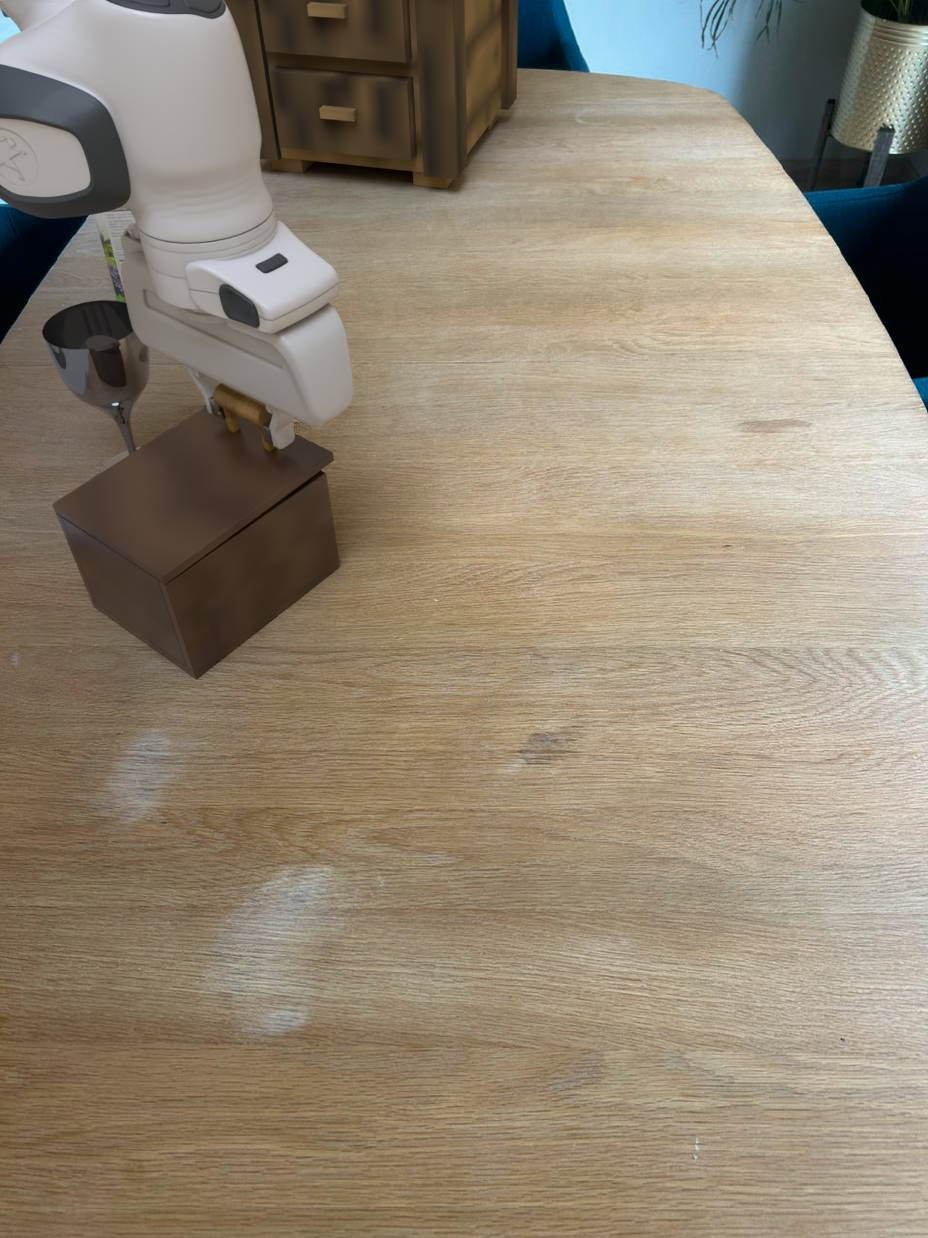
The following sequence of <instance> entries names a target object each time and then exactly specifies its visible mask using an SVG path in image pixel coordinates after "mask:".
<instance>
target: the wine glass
mask: <svg viewBox="0 0 928 1238" xmlns="http://www.w3.org/2000/svg"><path fill="white" fill-rule="evenodd" d="M41 335H42V338H43V341H44V344H45V347H46V350H47V352H48V355H49V357H50V359H51V362H52V364H53V366H54V368H55V370H56V372H57V373H58V375H59V377H60V379H61V380H62V382H63V383H64V385H65V386H66V388H67V389H68V390H69V392H71V394H72V395H73V396H74V397H75V398H76V399H78V400H79V401H80V402H82V403H84V404H85V405H87V406H89V407H91V408H93V409H95V410H97V411H99V412H101V413H104V414H105V415H107V416H108V417H109V418H110V419H111V420H112V421H113V422H114V424H115V425H116V427H117V429H118V431H119V433H120V435H121V437H122V439H123V442H124V444H125V447H126V450H124V451H122V452H120V453H117V454H116V455H114V456H112V457H111V458H110V459H108V460H107V461H106V462H105V463H104V464H103V465H102V467H101V469H100V471H99V474H100V473H102V472H103V471H105V470H106V469H108V468H109V467H111V466H113V465H114V464H116V463H117V462H119V461H120V460H122V459H124V458H125V457H127V456H128V455H130V454H132V453H133V452H135V451H136V450H138V449H139V448H141V447H142V446H141V447H137V446H136V443H135V440H134V435H133V429H132V423H131V422H132V421H131V416H132V412H133V409H134V407H135V405H136V403H137V402H138V400H139V399H140V397H141V396H142V394H143V393H144V391H145V389H146V387H147V385H148V382H149V380H150V374H151V373H150V371H151V360H150V359H151V358H150V357H151V356H150V350H149V349H150V348H149V347H147V346H145V345H144V344H143V343H142V342H141V341H140V340H139V338H138V337H137V335H136V333H135V332H134V330H133V328H132V325H131V321H130V317H129V313H128V309H127V304H126V303H124V302H120V301H117V300H113V299H99V300H91V301H84V302H81V303H76V304H74V305H70V306H67V307H65V308H63V309H62V310H60V311H58V312H56V313H54V314H53V315H52V316H50V318H48V320H47V321H46V322H45V323H44V325H43V327H42V330H41Z"/></svg>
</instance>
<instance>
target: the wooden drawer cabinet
mask: <svg viewBox="0 0 928 1238" xmlns="http://www.w3.org/2000/svg"><path fill="white" fill-rule="evenodd" d="M224 2H225V3H226V5H227V7H228V9H229V11H230V13H231V15H232V17H233V19H234V22H235V25H236V27H237V30H238V33H239V36H240V39H241V43H242V46H243V50H244V54H245V57H246V61H247V65H248V69H249V73H250V78H251V82H252V87H253V91H254V96H255V101H256V106H257V112H258V117H259V122H260V128H261V136H262V142H261V151H260V160H264V161H265V160H267V161H270V163H271V170H272V171H281V172H290V173H297V174H298V173H300V174H303V173H305V172H306V171H307V170H308V168H310V167H311V166H312V165H313V164H314V163H315V162H321V163H328V164H329V163H331V164H341V165H347V166H348V165H349V166H357V167H369V168H376V169H377V168H378V169H388V170H398V171H407V172H412V181H413V186H420V187H428V188H429V187H430V188H439V189H447V188H448V187H449V186H450V184H451V183H452V182H453V180H454V181H455V180H459V178H460V177H461V175H462V174H463V173H464V171H465V170H466V169H467V167H468V154H469V153H470V151H471V150H472V149H473V147H474V146H475V144H476V143H477V142H478V141H479V140H480V138H481V137H482V135H483V134H484V133H485V131H488V132H489V131H491V128H492V127H493V126H494V125H495V123H496V122H497V121H498V114H499V112H500V111H502V110H505V111H509V110H510V109H511V107H512V106H513V105H514V103H515V102H516V101H517V97H518V96H517V92H518V91H517V89H518V88H517V87H518V38H519V37H518V35H519V33H518V31H519V30H518V26H519V0H224Z"/></svg>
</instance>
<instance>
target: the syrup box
mask: <svg viewBox="0 0 928 1238" xmlns="http://www.w3.org/2000/svg"><path fill="white" fill-rule="evenodd" d="M93 216H94V220H95V223H96V227H97V231H98V234H99V238H100V242H101V245H102V249H103V253H104V256H105V261H106V264H107V268H108V271H109V275H110V279H111V283H112V285H113V290H114V293H115V296H116V301H120V302H124V303H126V299H125V294H124V289H123V283H122V276H121V265H122V262H123V260H124V259H125V255H124V252H123V248H122V245H121V236H122V235H123V232H124V230H125V229H126V228H127V227H129V225H130V224H131V223H136V222H135V218H134V216H133V214H132V213H131V211H130V210H128V209H127V208H123V207H119V208H117V209H115V210H111V211H108V212H103V213H98V214H93Z"/></svg>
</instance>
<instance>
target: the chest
mask: <svg viewBox="0 0 928 1238" xmlns="http://www.w3.org/2000/svg"><path fill="white" fill-rule="evenodd" d="M55 515H56V518H57V520H58V522H59V525H60V528H61V530H62V532H63V535H64V537H65V539H66V542H67V545H68V547H69V549H70V552H71V554H72V557H73V560H74V562H75V564H76V566H77V569H78V572H79V574H80V577H81V580H82V582H83V584H84V586H85V588H86V592H87V593H88V596H89V599H90V601H91V603H92V605H93V607H94V608H95V609H97V611H99V612H100V613H102V614H104V615H105V616H106V617H108V618H109V619H111V620H112V621H113V622H114V623H116V624H118V625H119V626H121V627H122V628H124V629H125V630H126V631H127V632H129V633H130V634H132V635H133V636H134V637H136V638H137V639H139V640H140V641H141V642H143V643H144V644H146V645H147V646H148V647H150V648H151V649H153V650H154V651H156V652H157V653H159V654H160V655H161V656H163V658H166V659H167V660H168V661H170V662H171V663H173V664H174V665H176V666H177V667H178V668H180V669H181V670H183V671H184V672H185V673H187V674H188V675H190V676H191V677H192V678H194V679H195V680H197V679H199V678H200V677H201V676H202V675H204V674H205V673H206V672H208V671H209V670H210V669H211V668H213V667H214V666H216V664H218V663H219V662H221V661H222V660H223V659H224V658H225V657H227V656H228V655H230V653H232V652H233V651H234V650H236V649H237V648H239V646H241V645H243V644H244V643H245V642H246V641H247V640H248V639H250V638H251V637H252V636H254V635H255V634H256V633H258V632H259V631H260V630H261V629H263V628H264V627H266V625H268V624H269V623H270V622H272V620H274V619H275V618H276V617H278V616H279V615H281V614H282V613H283V612H285V610H287V609H288V608H289V607H290V606H292V605H293V604H295V603H296V602H297V601H298V600H300V599H301V598H302V597H303V596H305V595H306V594H307V593H308V592H310V591H312V589H314V588H315V587H316V586H318V585H319V584H320V583H322V581H324V580H325V579H327V578H328V577H329V576H330V575H331V574H333V573H334V572H335V571H337V570H338V569H339V568H340V567H341V563H340V557H339V556H340V555H339V550H338V543H337V537H336V530H335V525H334V523H335V522H334V517H333V510H332V504H331V495H330V489H329V482H328V477H327V472H325V471H323V470H321V471H319V472H318V473H316V474H315V475H314V476H312V477H311V478H310V479H308V480H307V481H306V482H304V483H303V484H301V485H300V486H299V487H297V488H296V489H295V490H293V491H292V492H291V493H289V494H288V495H287V496H285V497H284V498H282V499H281V500H280V501H278V502H277V503H276V504H274V505H273V506H272V507H270V508H269V509H267V510H266V511H265V512H263V513H262V514H261V515H259V516H258V517H257V518H255V519H254V520H253V521H251V522H250V523H248V524H247V525H246V526H244V527H243V528H242V529H240V530H239V531H238V532H236V533H235V534H233V535H232V536H231V537H229V538H228V539H227V540H225V541H224V542H223V543H221V544H220V545H219V546H217V547H216V548H214V549H213V550H212V551H210V552H209V553H208V554H206V555H205V556H204V557H202V558H201V559H199V560H198V561H197V562H195V563H194V564H193V565H191V566H190V567H189V568H187V569H186V570H185V571H183V572H182V573H180V574H179V575H178V576H176V577H175V578H174V579H172V580H171V581H170V582H168V583H167V584H164V583H162V582H161V581H159V580H158V579H156V578H155V577H153V576H152V575H150V574H149V573H147V572H146V571H144V570H143V569H141V568H140V567H138V566H137V565H135V564H134V563H132V562H131V561H129V560H127V559H126V558H124V557H123V556H121V555H120V554H118V553H117V552H115V551H114V550H112V549H111V548H109V547H108V546H106V545H105V544H103V543H102V542H100V541H99V540H97V539H96V538H94V537H92V536H91V535H89V534H88V533H86V532H85V531H83V530H82V529H80V528H79V527H77V526H76V525H74V524H73V523H71V522H70V521H68V520H67V519H65V518H64V517H62V516H61V515H59V514H58V513H56V512H55Z"/></svg>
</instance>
